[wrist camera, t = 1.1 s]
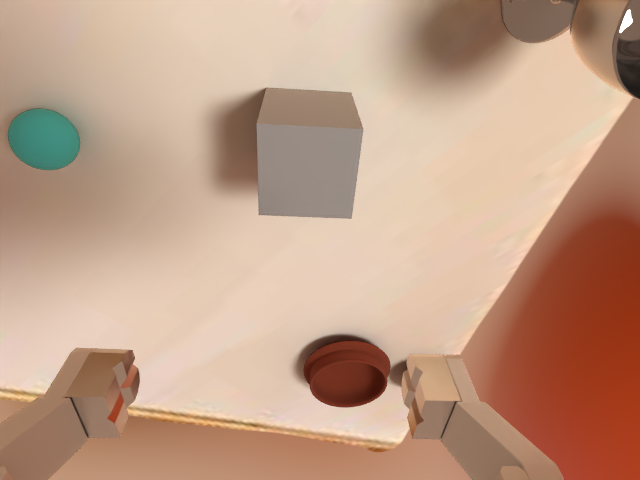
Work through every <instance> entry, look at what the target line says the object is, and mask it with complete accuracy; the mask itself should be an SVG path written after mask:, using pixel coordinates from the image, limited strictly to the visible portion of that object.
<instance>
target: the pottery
mask: <svg viewBox="0 0 640 480" xmlns="http://www.w3.org/2000/svg"><path fill="white" fill-rule="evenodd" d="M389 372H390V361H389V358H388V356H387V355H386V354H385V353H384V352H383V351H382V350H381V349H379V348H378V347H376V346H374V345H372V344H369V343H365V342H359V341H341V342H336V343H332V344H329V345H326V346H324V347H322V348H320V349H318V350H317V351H315V352H314V353H313V354H312V355H311V356H310V357H309V358H308V359H307V361H306V363H305V365H304V376H305V378H306V380H307V382H308V383H309V384H310V390H311V392H312V394H313V395H314V397H315V398H317V399H318V400H319V401H321V402H323V403H325V404H327V405H331V406H335V407H355V406H360V405H364V404H367V403H369V402H371V401H373V400H375V399H377V398H378V397H379V396H380V395H381V394H382V393H383V392H384V391H385V389H386V386H387V377H388V375H389ZM401 388H402V385H401Z"/></svg>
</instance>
